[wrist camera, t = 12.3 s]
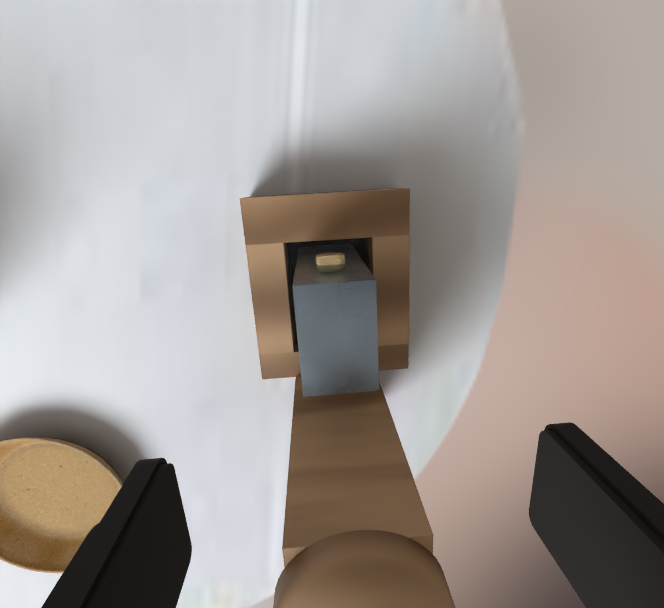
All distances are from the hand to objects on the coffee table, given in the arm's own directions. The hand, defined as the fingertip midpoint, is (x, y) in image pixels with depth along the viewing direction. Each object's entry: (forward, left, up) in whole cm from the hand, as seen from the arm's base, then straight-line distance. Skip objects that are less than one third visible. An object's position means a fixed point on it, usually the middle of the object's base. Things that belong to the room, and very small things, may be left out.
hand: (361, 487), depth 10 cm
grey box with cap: (0, 0, -22) cm, 22 cm away
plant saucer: (+18, -26, -22) cm, 39 cm away
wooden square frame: (+3, 0, -22) cm, 22 cm away
